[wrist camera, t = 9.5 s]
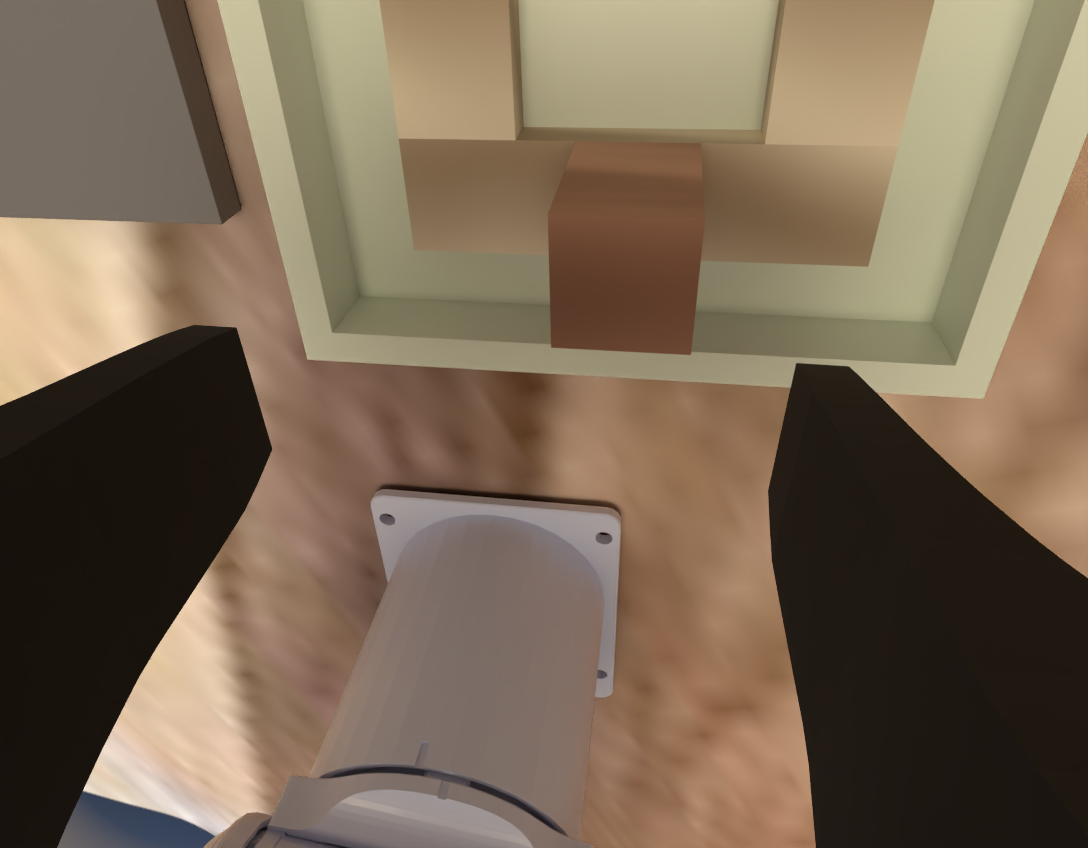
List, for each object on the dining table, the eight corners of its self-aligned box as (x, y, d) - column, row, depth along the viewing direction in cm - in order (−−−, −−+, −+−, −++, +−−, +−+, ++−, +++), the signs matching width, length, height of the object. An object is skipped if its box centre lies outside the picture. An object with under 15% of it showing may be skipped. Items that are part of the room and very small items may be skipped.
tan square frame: (859, 247, 17) (914, 367, 13) (426, 233, 18) (353, 337, 14) (1015, -410, 11) (1208, -566, 7) (351, -358, 12) (189, -465, 8)
